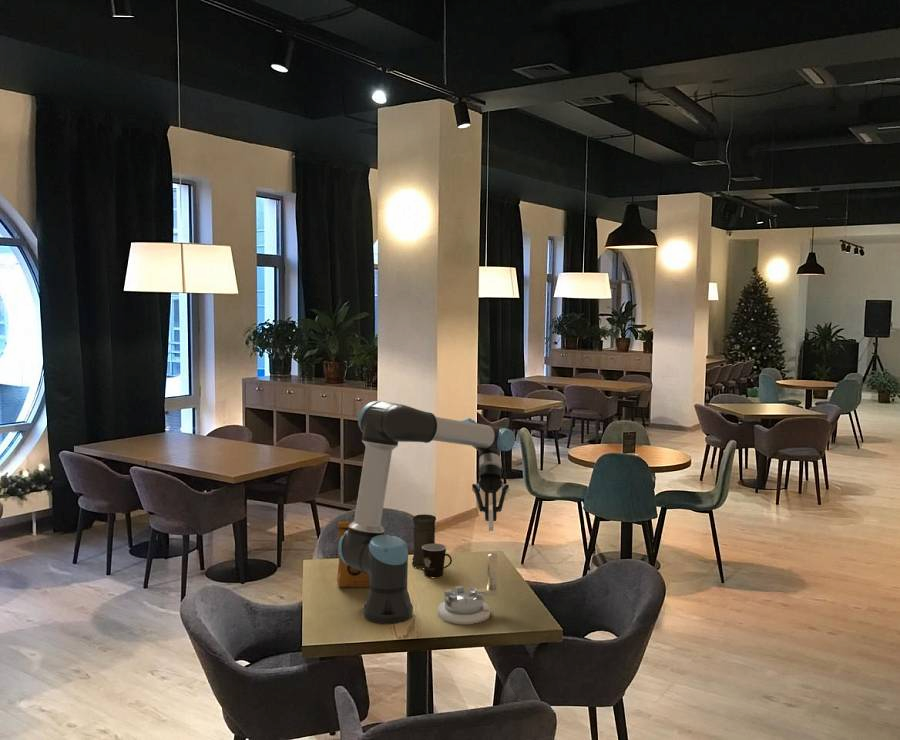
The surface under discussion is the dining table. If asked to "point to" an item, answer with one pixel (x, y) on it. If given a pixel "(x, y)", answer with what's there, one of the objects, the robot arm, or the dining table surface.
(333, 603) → the dining table surface
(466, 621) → the nut base plate
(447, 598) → the grey and clear pieces
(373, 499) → the robot arm
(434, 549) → the coffee mug
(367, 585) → the coffee package
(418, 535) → the container
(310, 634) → the dining table surface
